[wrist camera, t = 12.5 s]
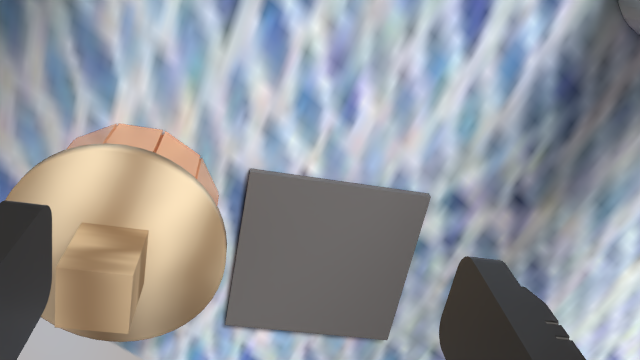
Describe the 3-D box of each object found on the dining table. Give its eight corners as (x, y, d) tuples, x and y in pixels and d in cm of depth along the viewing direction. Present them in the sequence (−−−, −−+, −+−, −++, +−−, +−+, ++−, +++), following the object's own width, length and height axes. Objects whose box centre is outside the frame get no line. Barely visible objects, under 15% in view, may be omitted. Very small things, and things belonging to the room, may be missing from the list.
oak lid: (240, 161, 36) (237, 207, 30) (213, 338, 41) (206, 405, 36) (0, 127, 33) (-52, 169, 28) (5, 320, 39) (-38, 388, 33)
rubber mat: (428, 193, 45) (430, 197, 44) (385, 335, 50) (387, 340, 50) (250, 168, 43) (250, 171, 42) (225, 320, 48) (225, 324, 48)
